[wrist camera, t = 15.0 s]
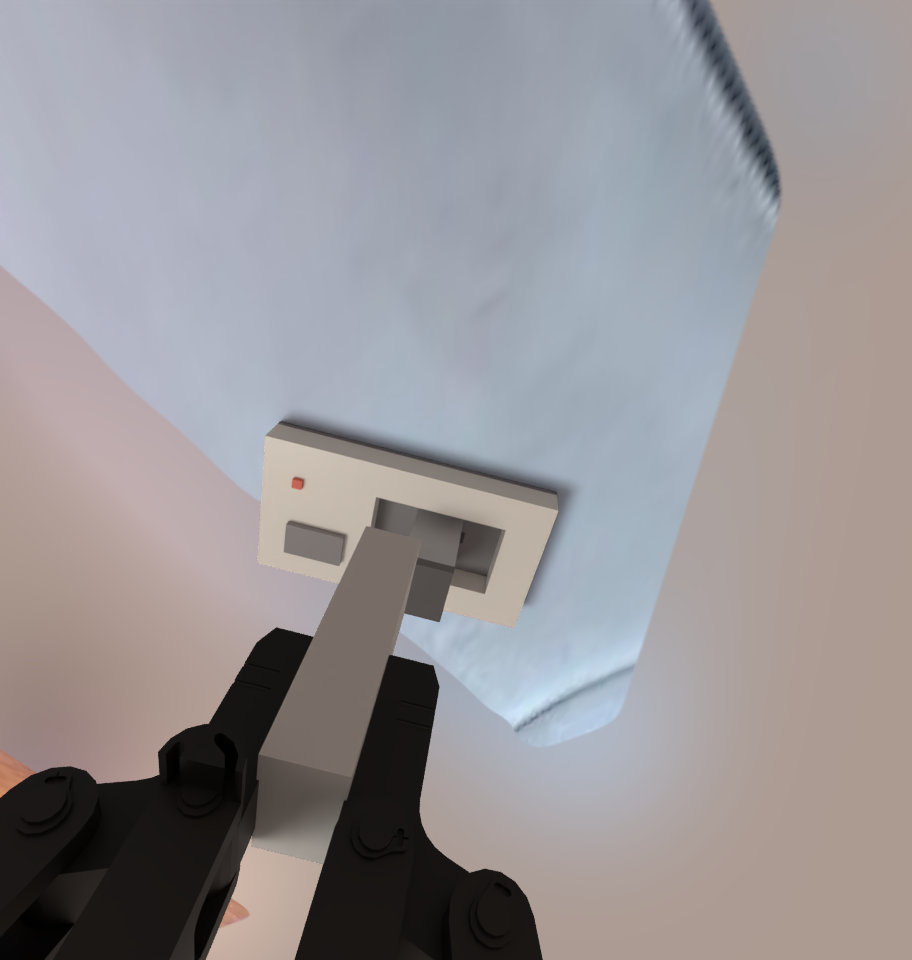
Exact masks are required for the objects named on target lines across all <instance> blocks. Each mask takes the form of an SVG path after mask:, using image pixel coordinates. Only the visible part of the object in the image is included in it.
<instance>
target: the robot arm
mask: <svg viewBox="0 0 912 960" xmlns="http://www.w3.org/2000/svg"><path fill="white" fill-rule="evenodd" d="M421 541H422V540H420V539H416V538H412V537H408V536H404V535H400V534H396V533H392V532H388V531H384V530H380V529H376V528H372V527H369V526H366V527H365V529H364V531H363V534H362V536H361V538H360V540H359V542H358V544H357V546H356V548H355V551H354V553H353V555H352V557H351V559H350V561H349V563H348V565H347V568H346V570H345V572H344V574H343V576H342V578H341V580H340V582H339V585H338V587H337V589H336V591H335V593H334V595H333V597H332V599H331V601H330V604H329V606H328V608H327V610H326V612H325V614H324V616H323V618H322V621H321V623H320V625H319V627H318V629H317V631H316V633H315V636H314V637H311V636H308V635H304V634H300V633H296V632H292V631H288V630H285V629H280V628H275V629H274V630H272V631H271V632H270V633H268V634H267V635H266V636H265V637H263V638H262V639H261V640H259V641H258V642H257V643H256V645H255V646H254V648H253V650H252V652H251V653H250V655H249V657H248V658H247V660H246V662H245V664H244V667H242V669H241V670H240V672H239V674H238V675H237V677H236V679H235V682H234V683H233V684H232V686H231V687H230V689H229V690H228V692H227V694H226V695H225V697H224V699H223V701H222V702H221V704H220V706H219V707H218V709H217V711H216V713H215V714H214V716H213V717H212V719H211V721H210V723H209V724H203V725H200V726H195V727H191V728H187V729H185V730H184V731H182V732H180V733H179V734H177V735H175V736H174V737H172V738H171V739H170V740H169V741H168V742H167V743H166V744H165V745H164V746H163V747H162V748H161V750H160V751H159V752H158V757H159V758H158V759H159V773H160V775H157V776H155V777H152V778H148V779H143V780H137V781H127V782H115V783H103V784H96V781H95V780H94V779H93V778H92V777H91V776H90V774H89V773H88V772H87V771H85V770H81V769H77V768H74V767H71V766H70V767H57V768H50V769H47V770H45V771H42V772H39V773H36V774H34V775H31V776H29V777H28V778H26V779H25V780H23V781H22V782H20V783H19V784H17V785H16V786H14V787H13V788H11V789H10V790H9V791H8V792H7V793H6V794H4V795H3V796H2V797H1V798H0V960H206V957H207V955H208V953H209V950H210V948H211V945H212V943H213V940H214V938H215V936H216V933H217V931H218V928H219V926H220V923H221V921H222V919H223V916H224V914H225V911H226V909H227V906H228V904H229V902H230V899H231V897H232V894H233V892H234V889H235V887H236V884H237V880H238V875H239V871H240V862H241V860H242V858H243V855H244V853H245V850H246V848H247V846H248V843H249V841H250V839H251V836H252V842H251V846H252V847H256V848H260V849H264V850H268V851H272V852H276V853H280V854H284V855H288V856H292V857H296V858H300V859H304V860H308V861H312V862H316V863H320V864H323V867H322V870H321V874H320V877H319V880H318V884H317V887H316V890H315V894H314V897H313V900H312V904H311V907H310V910H309V914H308V917H307V921H306V923H305V927H304V930H303V933H302V937H301V940H300V943H299V947H298V950H297V954H296V957H295V960H543V959H542V954H541V949H540V944H539V939H538V934H537V930H536V924H535V919H534V915H533V913H532V910H531V907H530V904H529V902H528V899H527V897H526V895H525V894H524V893H523V891H522V890H521V889H520V888H519V886H518V885H517V884H516V882H515V881H513V880H512V879H510V878H509V877H507V876H506V875H504V874H503V873H501V872H498V871H493V870H488V869H482V870H479V871H475V872H471V873H469V872H468V871H466V870H465V869H463V868H462V867H460V866H459V865H458V864H456V863H455V862H453V861H452V860H450V859H449V858H447V857H446V856H445V855H443V854H442V853H441V852H440V851H439V850H438V849H437V848H435V847H434V845H433V844H432V842H431V841H430V840H429V838H428V837H427V835H426V833H425V831H424V828H423V826H422V823H421V818H420V812H419V810H420V797H421V791H422V785H423V779H424V773H425V767H426V762H427V756H428V750H429V744H430V738H431V733H432V727H433V721H434V715H435V709H436V704H437V698H438V692H439V684H438V680H437V677H436V673H435V669H434V666H433V665H428V664H425V663H420V662H417V661H413V660H409V659H404V658H401V657H397V656H393V655H392V654H393V651H394V647H395V644H396V640H397V637H398V633H399V630H400V626H401V623H402V619H403V616H404V612H405V607H406V603H407V599H408V595H409V591H410V587H411V583H412V578H413V574H414V570H415V566H416V562H417V558H418V554H419V549H420V545H421Z"/></svg>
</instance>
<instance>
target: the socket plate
mask: <svg viewBox="0 0 912 960" xmlns="http://www.w3.org/2000/svg"><path fill="white" fill-rule="evenodd" d="M419 508H421V509H425V510H429V511H432V512H436V513H440V514H444V515H448V516H452V517H456V518H460V519H464V520H463V526H462V531H461V536H460V542H459V547H458V552H457V558H456V563H455V568H454V574H453V577H452V581H451V584H450V588H449V591H448V595H447V598H446V602H445V605H444V609H443V610H444V611H447V612H451V613H455V614H459V615H463V616H467V617H471V618H475V619H479V620H483V621H487V622H491V623H495V624H499V625H503V626H507V627H511V628H514V627H515V625H516V622H517V619H518V617H519V614H520V611H521V609H522V606H523V603H524V601H525V598H526V596H527V593H528V590H529V588H530V585H531V582H532V580H533V577H534V574H535V572H536V569H537V567H538V564H539V561H540V559H541V556H542V553H543V551H544V548H545V545H546V543H547V540H548V538H549V535H550V532H551V530H552V527H553V524H554V522H555V519H556V516H557V514H558V511H559V509H558V500H557V492H553V491H549V490H545V489H541V488H537V487H534V486H530V485H526V484H522V483H518V482H514V481H510V480H506V479H502V478H498V477H495V476H491V475H487V474H483V473H479V472H475V471H471V470H467V469H463V468H459V467H456V466H452V465H448V464H444V463H440V462H436V461H432V460H428V459H424V458H420V457H417V456H413V455H409V454H405V453H401V452H397V451H393V450H389V449H385V448H381V447H378V446H374V445H370V444H366V443H362V442H358V441H354V440H350V439H346V438H342V437H339V436H335V435H331V434H327V433H323V432H319V431H315V430H311V429H307V428H303V427H300V426H296V425H292V424H288V423H284V422H279V423H278V424H277V425H276V426H275V427H274V428H273V429H272V430H271V431H270V432H269V433H267V434H266V435H265V447H264V463H263V479H262V496H261V512H260V528H259V544H258V560H257V563H258V564H262V565H266V566H270V567H275V568H278V569H282V570H286V571H290V572H294V573H298V574H302V575H306V576H310V577H314V578H317V579H321V580H325V581H329V582H334V583H337V584H339V582H340V580H341V578H342V576H343V574H344V572H345V570H346V568H347V565H348V563H349V561H350V559H351V557H352V555H353V553H354V551H355V548H356V546H357V544H358V542H359V540H360V538H361V536H362V534H363V531H364V529H365V527H366V526H369V527H372V528H376V529H380V530H384V531H388V532H392V533H396V534H400V535H404V536H408V537H409V536H410V533H411V530H412V527H413V524H414V521H415V518H416V515H417V512H418V509H419Z"/></svg>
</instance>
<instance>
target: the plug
mask: <svg viewBox="0 0 912 960" xmlns="http://www.w3.org/2000/svg"><path fill="white" fill-rule="evenodd" d="M463 520H464V519H460V518H456V517H452V516H448V515H444V514H440V513H436V512H432V511H429V510H425V509H421V508H419V509H418V512H417V515H416V518H415V521H414V524H413V527H412V530H411V533H410V536H409V537H412V538H416V539H420V540H422V541H421V545H420V549H419V554H418V558H417V562H416V566H415V570H414V574H413V578H412V583H411V587H410V591H409V595H408V599H407V603H406V607H405V612H404V613H405V614H409V615H413V616H417V617H421V618H425V619H429V620H433V621H437V622H440V619H441V616H442V612H443V609H444V605H445V602H446V598H447V595H448V591H449V588H450V584H451V581H452V577H453V574H454V568H455V563H456V558H457V552H458V547H459V542H460V536H461V531H462V526H463Z"/></svg>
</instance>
